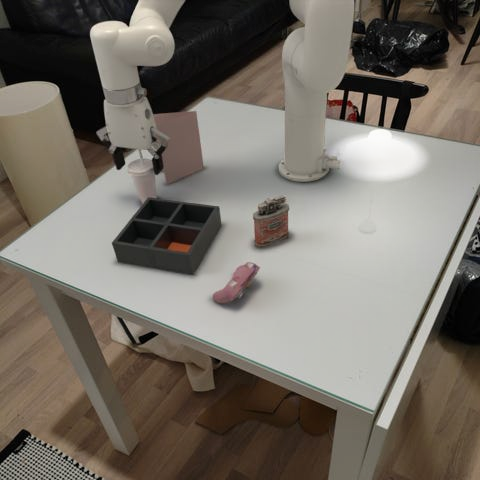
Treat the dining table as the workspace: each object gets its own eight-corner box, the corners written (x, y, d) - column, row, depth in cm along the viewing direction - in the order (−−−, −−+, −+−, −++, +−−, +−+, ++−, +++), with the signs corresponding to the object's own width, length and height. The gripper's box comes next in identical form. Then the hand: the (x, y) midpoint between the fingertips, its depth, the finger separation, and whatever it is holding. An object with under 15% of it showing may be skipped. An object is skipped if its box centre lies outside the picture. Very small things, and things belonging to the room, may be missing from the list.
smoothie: (157, 209, 114) (145, 154, 104) (132, 208, 115) (117, 153, 105) (166, 195, 118) (154, 140, 108) (141, 193, 119) (128, 139, 109)
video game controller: (228, 314, 91) (240, 296, 85) (209, 299, 91) (219, 280, 85) (254, 283, 96) (267, 264, 90) (237, 269, 96) (248, 249, 90)
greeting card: (204, 166, 126) (196, 109, 116) (203, 181, 121) (195, 123, 111) (160, 169, 127) (149, 113, 116) (158, 184, 122) (146, 126, 111)
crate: (221, 225, 108) (219, 206, 104) (193, 275, 97) (189, 255, 93) (152, 216, 112) (148, 197, 109) (117, 262, 101) (111, 242, 98)
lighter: (259, 250, 101) (257, 210, 93) (251, 242, 103) (249, 202, 96) (292, 238, 103) (292, 197, 96) (283, 230, 105) (283, 189, 98)
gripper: (169, 88, 98) (180, 165, 111) (95, 82, 103) (114, 157, 115) (153, 103, 93) (167, 182, 106) (76, 96, 98) (98, 173, 110)
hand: (140, 169), depth 110 cm, fingers open, 9 cm apart
